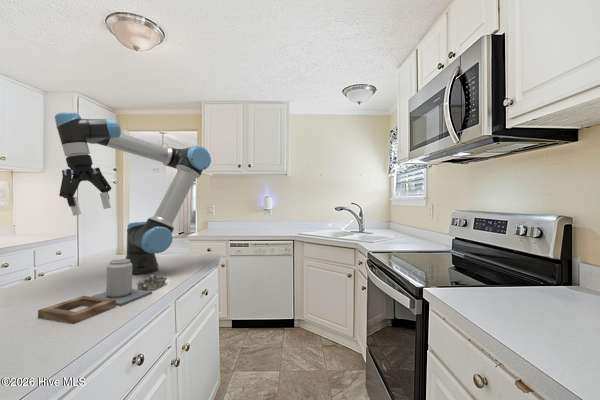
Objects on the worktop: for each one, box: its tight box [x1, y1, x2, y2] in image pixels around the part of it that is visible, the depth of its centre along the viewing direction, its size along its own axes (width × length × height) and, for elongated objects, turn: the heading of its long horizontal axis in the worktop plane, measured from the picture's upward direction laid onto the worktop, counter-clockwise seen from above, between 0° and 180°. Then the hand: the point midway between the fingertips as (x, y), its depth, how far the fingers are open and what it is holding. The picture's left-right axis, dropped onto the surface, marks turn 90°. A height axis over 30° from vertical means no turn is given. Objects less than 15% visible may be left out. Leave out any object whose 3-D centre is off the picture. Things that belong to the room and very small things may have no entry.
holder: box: [37, 295, 117, 325], centre depth 85 cm, size 13×13×2 cm
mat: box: [90, 288, 153, 307], centre depth 98 cm, size 13×15×1 cm
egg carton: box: [135, 274, 168, 292], centre depth 111 cm, size 11×8×4 cm
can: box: [105, 258, 133, 298], centre depth 98 cm, size 8×8×12 cm
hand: (93, 211), depth 108 cm, fingers open, 13 cm apart
